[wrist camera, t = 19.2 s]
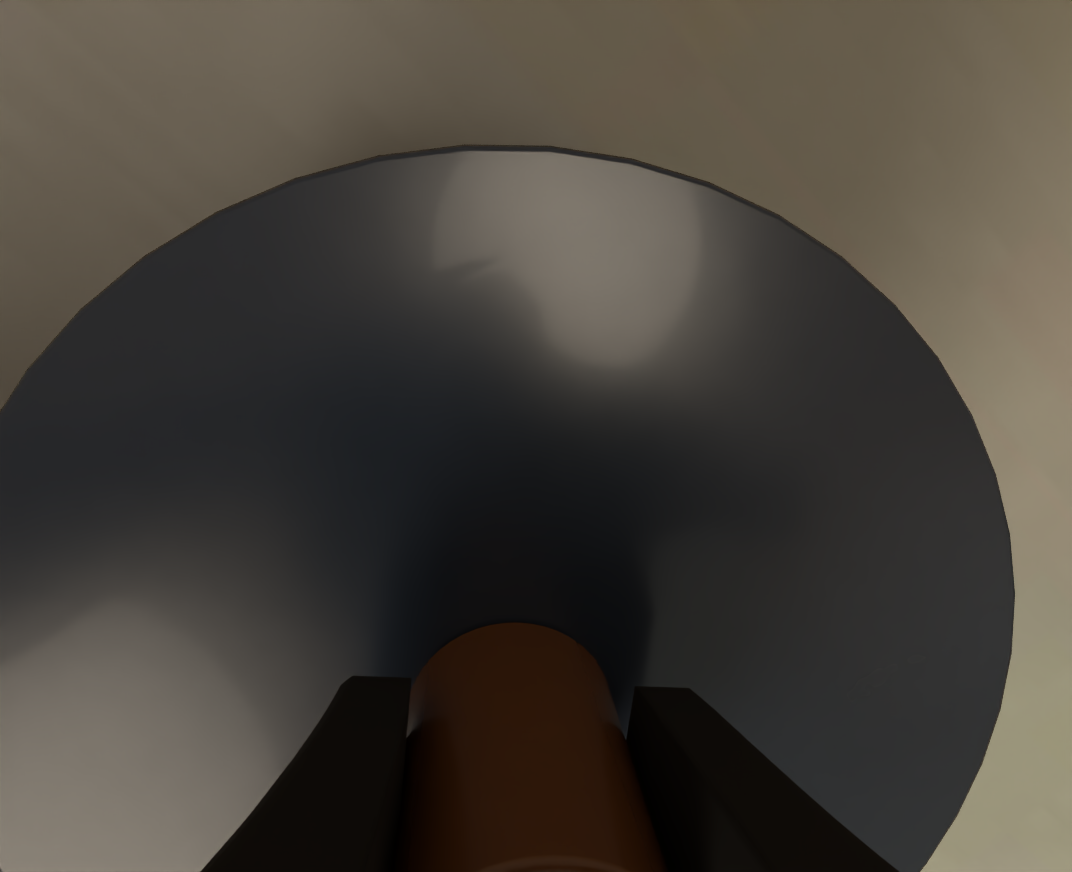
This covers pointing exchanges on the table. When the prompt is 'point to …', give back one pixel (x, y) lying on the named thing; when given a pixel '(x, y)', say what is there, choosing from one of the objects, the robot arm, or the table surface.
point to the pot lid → (489, 519)
